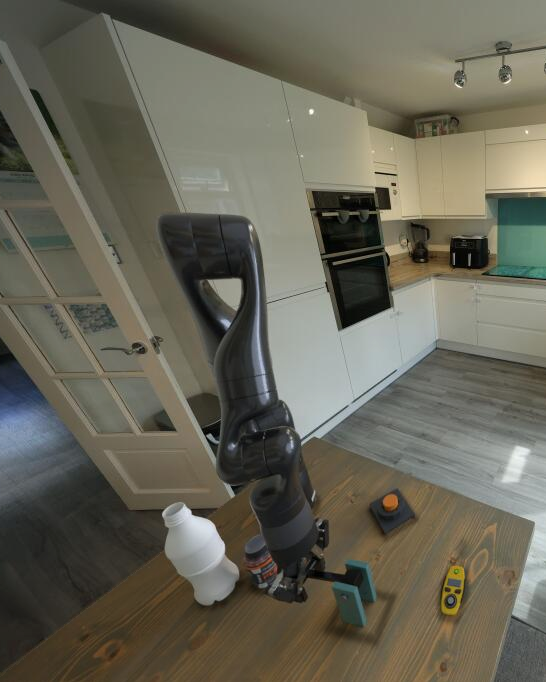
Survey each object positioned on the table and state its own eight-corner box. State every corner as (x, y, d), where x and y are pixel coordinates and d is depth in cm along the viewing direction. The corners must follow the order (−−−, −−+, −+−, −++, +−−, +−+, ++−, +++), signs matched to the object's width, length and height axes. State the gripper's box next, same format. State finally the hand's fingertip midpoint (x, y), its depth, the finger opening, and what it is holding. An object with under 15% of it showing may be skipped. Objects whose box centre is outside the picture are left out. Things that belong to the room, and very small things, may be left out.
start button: (381, 504, 80) (380, 499, 79) (394, 496, 82) (393, 491, 81) (387, 514, 77) (386, 509, 77) (400, 505, 79) (399, 501, 79)
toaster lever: (296, 589, 58) (292, 581, 57) (312, 564, 62) (308, 556, 61) (354, 599, 55) (350, 591, 54) (367, 572, 59) (363, 564, 58)
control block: (370, 509, 82) (368, 499, 81) (398, 493, 87) (396, 483, 85) (386, 538, 75) (384, 528, 74) (415, 519, 80) (414, 508, 78)
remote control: (436, 611, 61) (453, 536, 74) (436, 616, 61) (453, 541, 75) (460, 616, 60) (472, 539, 73) (460, 621, 61) (473, 544, 74)
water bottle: (195, 618, 61) (137, 536, 50) (204, 582, 67) (154, 501, 56) (239, 598, 64) (193, 517, 53) (245, 565, 70) (204, 486, 59)
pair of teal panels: (328, 628, 60) (313, 590, 54) (348, 587, 66) (337, 550, 60) (376, 641, 58) (366, 603, 53) (392, 598, 64) (385, 560, 59)
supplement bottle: (271, 595, 65) (255, 562, 60) (247, 588, 66) (229, 555, 61) (292, 565, 70) (279, 532, 65) (270, 559, 71) (255, 526, 66)
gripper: (299, 488, 61) (318, 544, 68) (234, 565, 48) (265, 624, 55) (333, 494, 59) (349, 551, 67) (276, 575, 47) (302, 634, 54)
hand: (311, 583), depth 61 cm, fingers closed on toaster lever, 4 cm apart
